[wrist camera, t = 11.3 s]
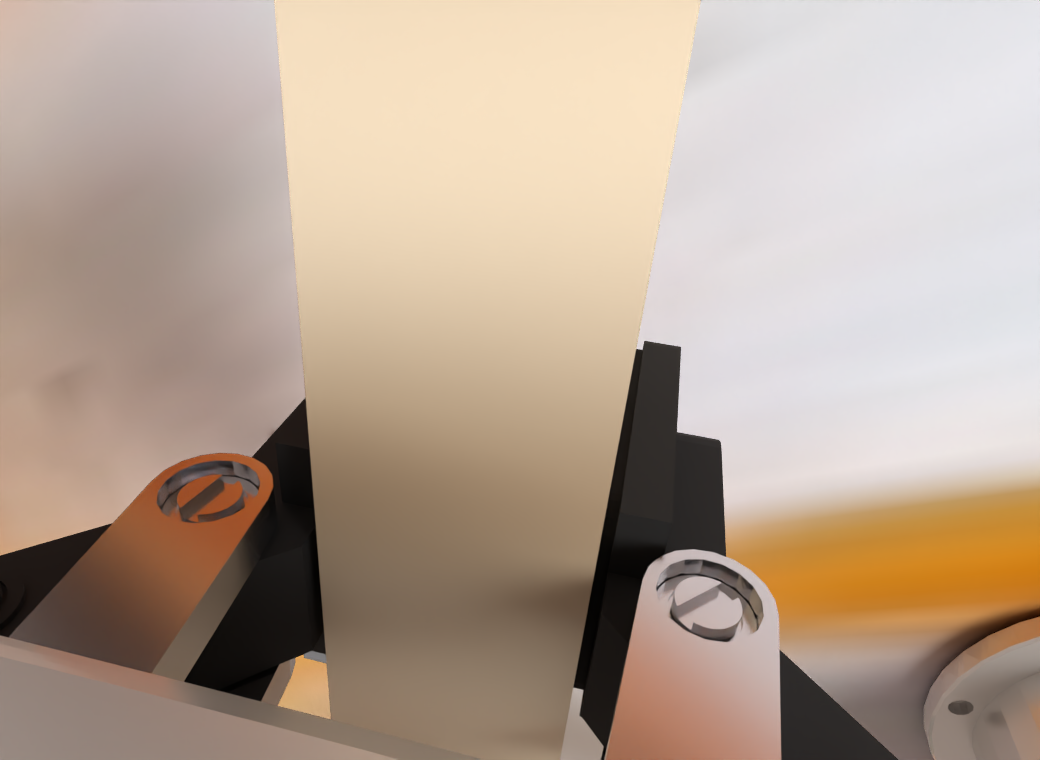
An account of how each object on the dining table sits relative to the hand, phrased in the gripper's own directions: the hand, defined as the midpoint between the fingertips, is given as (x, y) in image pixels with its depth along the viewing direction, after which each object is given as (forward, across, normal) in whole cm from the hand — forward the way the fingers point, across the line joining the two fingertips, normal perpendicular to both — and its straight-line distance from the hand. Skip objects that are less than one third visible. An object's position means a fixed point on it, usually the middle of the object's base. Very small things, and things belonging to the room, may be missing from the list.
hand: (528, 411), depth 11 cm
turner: (+1, 0, +1) cm, 2 cm away
